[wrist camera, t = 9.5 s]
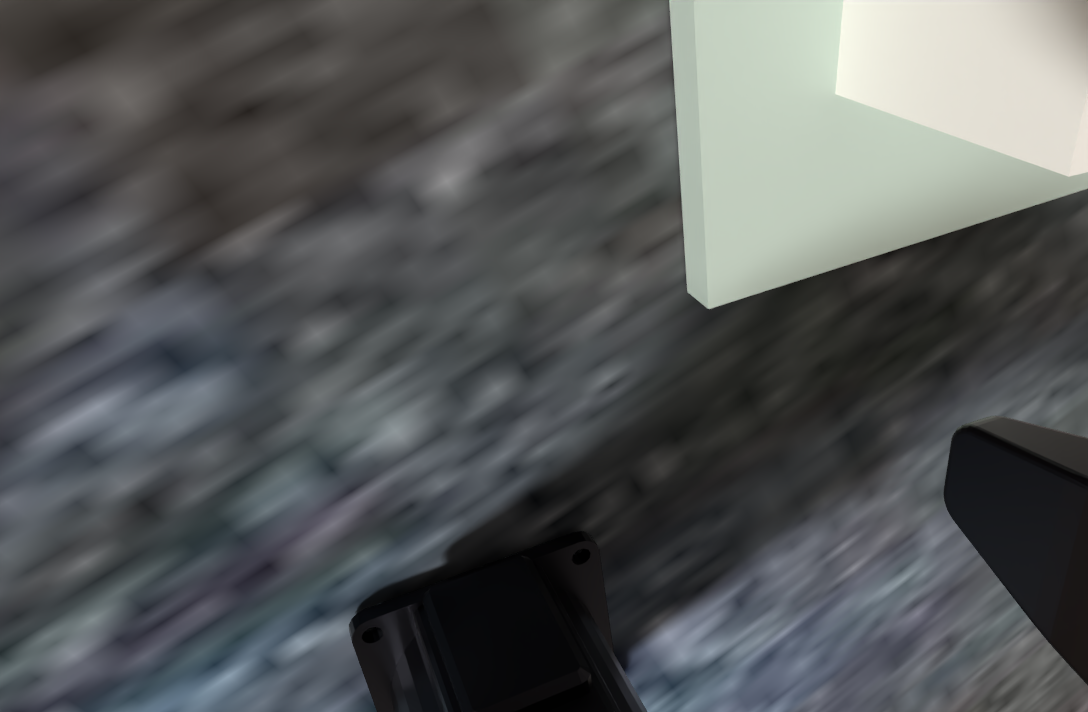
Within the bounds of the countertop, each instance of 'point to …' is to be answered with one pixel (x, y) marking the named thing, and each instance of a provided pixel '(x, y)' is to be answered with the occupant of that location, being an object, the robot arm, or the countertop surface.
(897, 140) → the bracket board
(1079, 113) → the block
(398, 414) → the countertop surface
